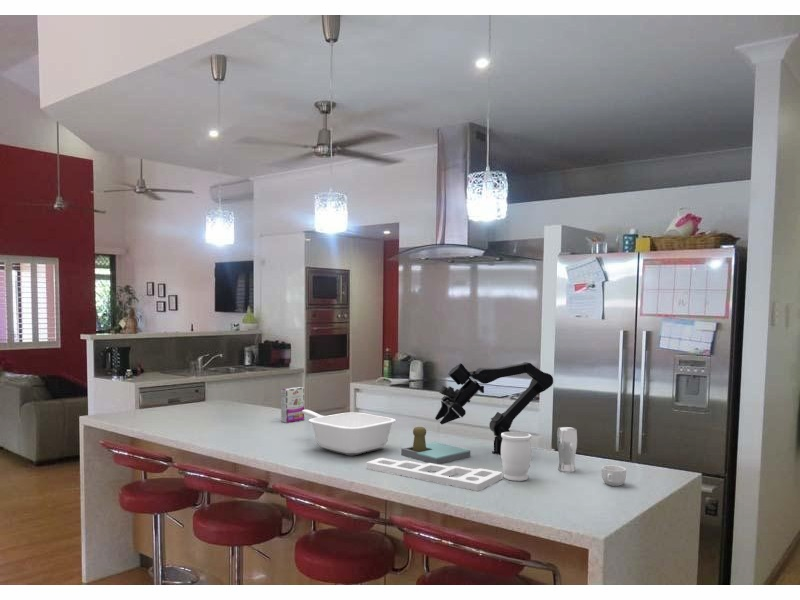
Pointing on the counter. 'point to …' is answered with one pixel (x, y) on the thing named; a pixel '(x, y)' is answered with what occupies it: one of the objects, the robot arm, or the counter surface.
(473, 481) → the holder
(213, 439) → the counter surface
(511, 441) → the jar
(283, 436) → the counter surface
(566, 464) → the beer glass
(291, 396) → the candy bar box
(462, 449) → the teal gray square board
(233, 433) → the counter surface
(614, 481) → the teacup
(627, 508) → the counter surface
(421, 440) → the brown waisted cylinder
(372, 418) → the pot
